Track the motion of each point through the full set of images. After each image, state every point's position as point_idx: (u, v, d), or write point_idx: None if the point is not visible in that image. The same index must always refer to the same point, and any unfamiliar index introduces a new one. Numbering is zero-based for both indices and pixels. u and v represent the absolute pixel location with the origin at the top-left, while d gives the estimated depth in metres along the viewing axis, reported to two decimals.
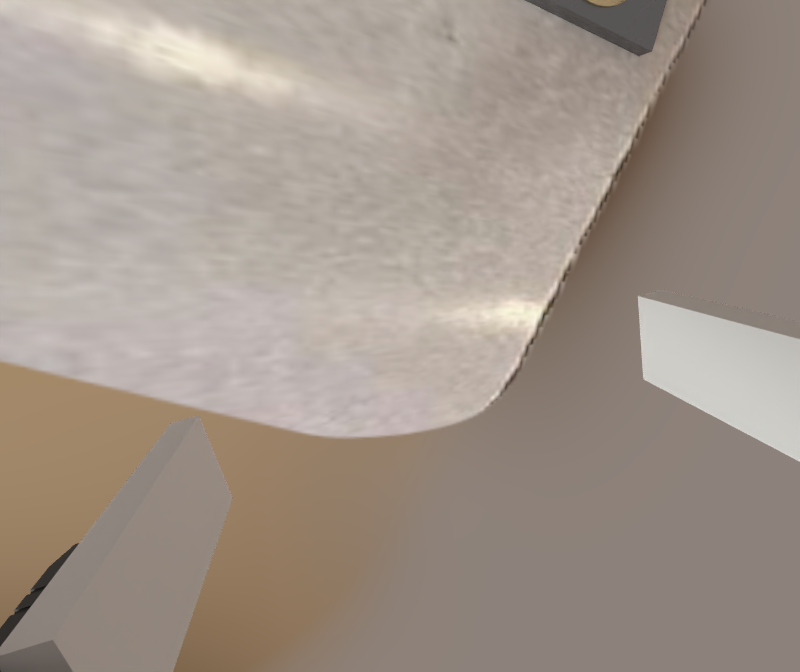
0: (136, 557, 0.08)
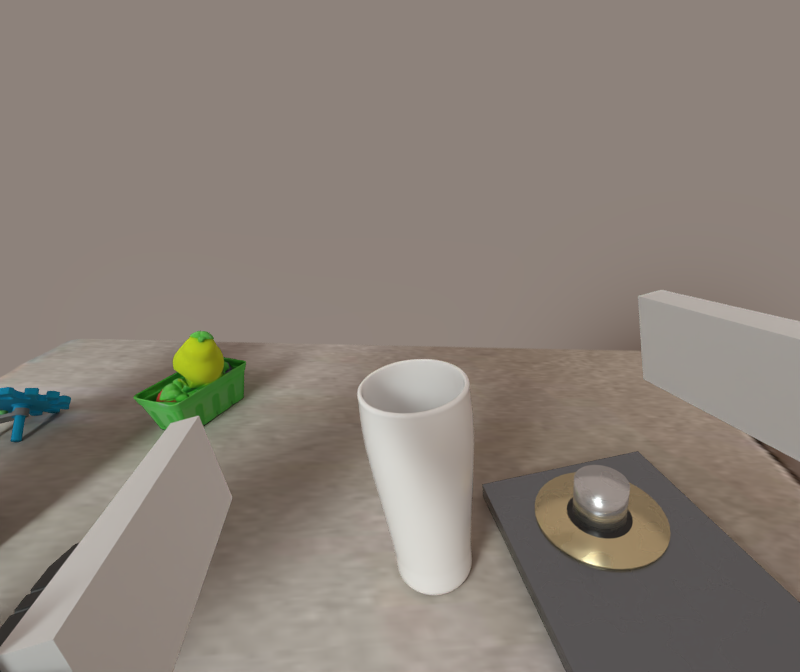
0: (136, 557, 0.08)
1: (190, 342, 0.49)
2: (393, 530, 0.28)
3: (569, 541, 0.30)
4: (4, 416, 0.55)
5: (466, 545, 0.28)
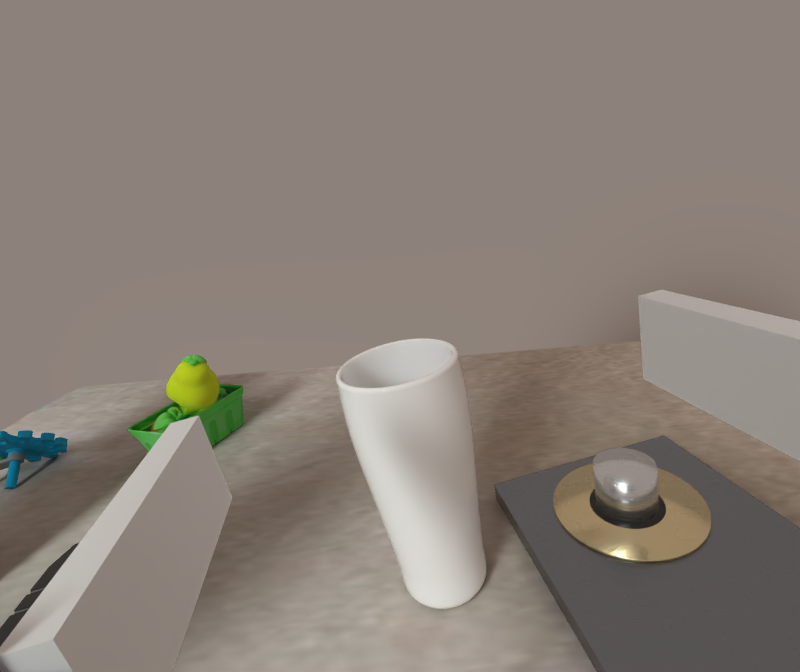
0: (136, 557, 0.08)
1: (182, 367, 0.47)
2: (391, 533, 0.24)
3: (595, 535, 0.27)
4: None
5: (476, 546, 0.25)
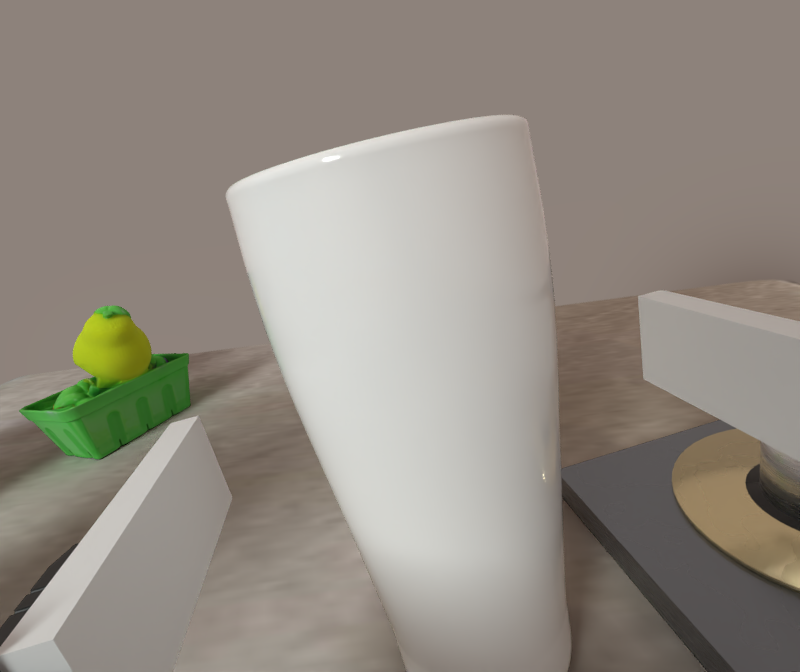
0: (136, 557, 0.08)
1: (92, 320, 0.34)
2: (372, 568, 0.11)
3: (794, 562, 0.13)
4: None
5: (560, 592, 0.11)
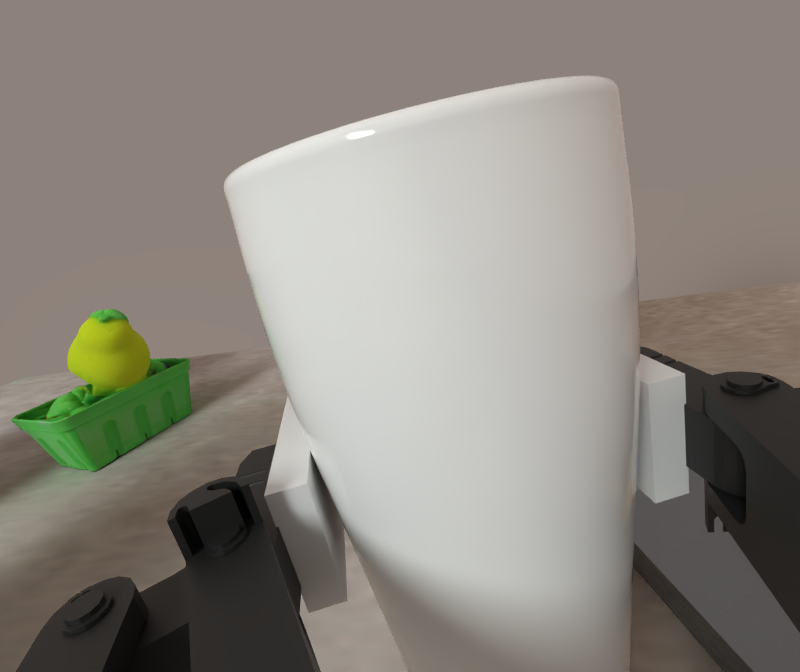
0: None
1: (87, 324, 0.32)
2: (402, 643, 0.09)
3: None
4: None
5: (628, 669, 0.09)
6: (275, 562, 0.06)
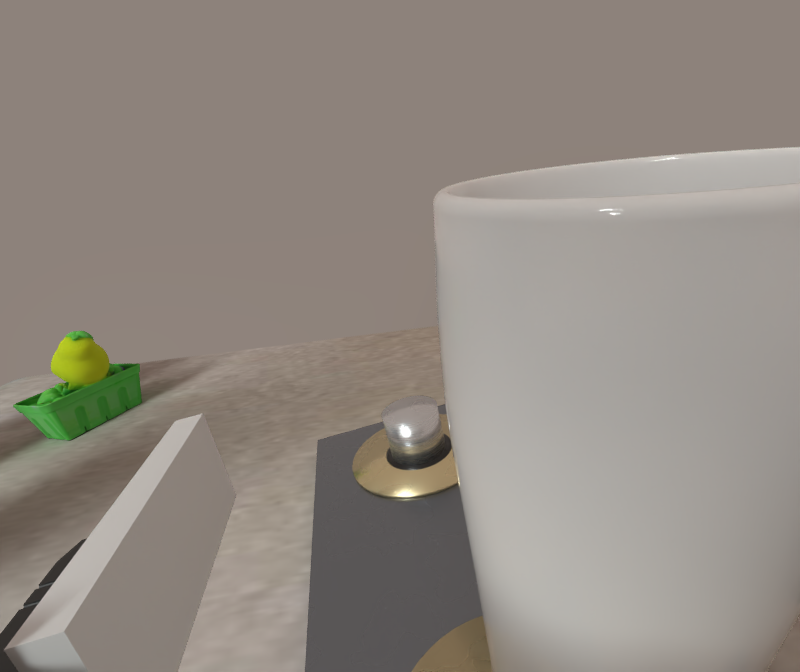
0: (143, 552, 0.08)
1: (64, 341, 0.48)
2: None
3: (374, 477, 0.27)
4: None
5: None
6: None
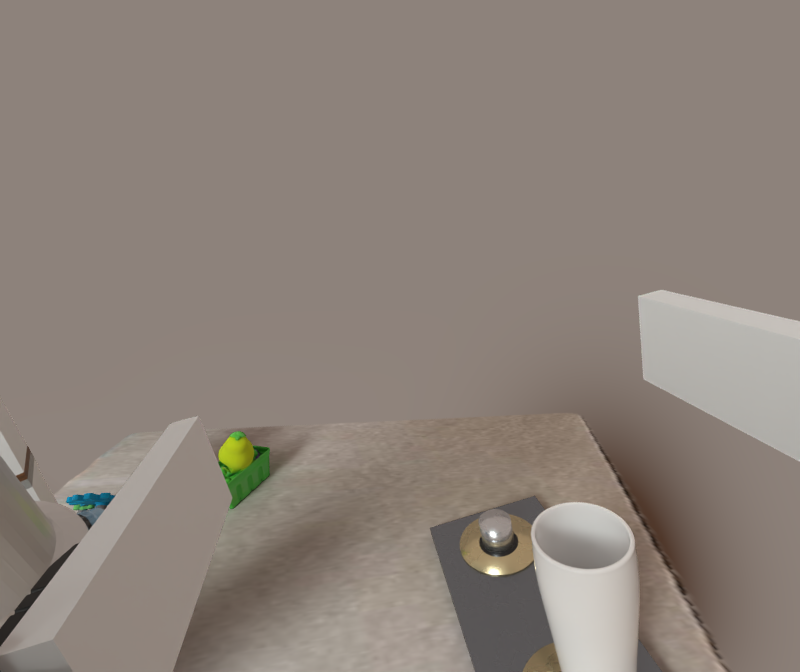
0: (136, 557, 0.08)
1: (230, 441, 0.70)
2: (572, 665, 0.31)
3: (476, 560, 0.48)
4: None
5: None
6: None
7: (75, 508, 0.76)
